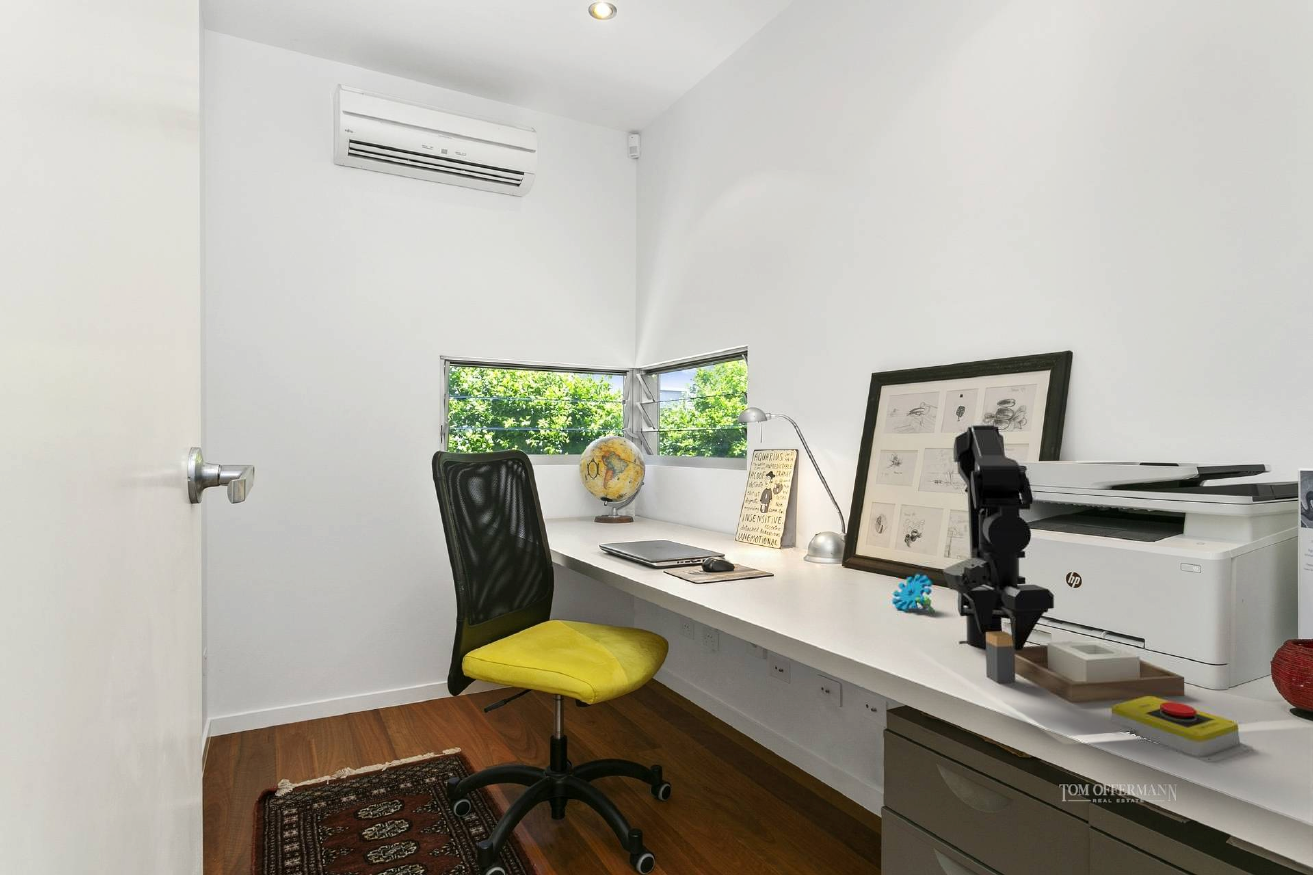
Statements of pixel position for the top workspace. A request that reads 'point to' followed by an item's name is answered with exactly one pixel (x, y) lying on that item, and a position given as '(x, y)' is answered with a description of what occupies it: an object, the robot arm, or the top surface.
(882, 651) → the top surface
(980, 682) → the top surface
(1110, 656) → the block
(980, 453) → the robot arm
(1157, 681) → the walled box
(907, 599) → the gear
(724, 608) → the top surface
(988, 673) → the plug
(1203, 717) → the emergency button
